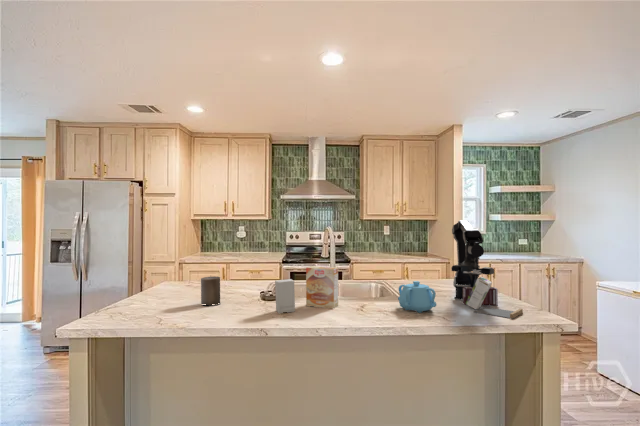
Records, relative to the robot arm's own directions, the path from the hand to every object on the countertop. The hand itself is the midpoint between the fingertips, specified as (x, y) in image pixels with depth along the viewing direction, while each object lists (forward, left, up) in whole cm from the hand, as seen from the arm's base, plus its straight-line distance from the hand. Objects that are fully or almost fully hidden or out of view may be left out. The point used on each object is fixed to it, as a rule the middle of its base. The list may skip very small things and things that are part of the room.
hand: (472, 287), depth 179 cm
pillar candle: (-101, -84, -10) cm, 132 cm away
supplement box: (+5, +16, -6) cm, 18 cm away
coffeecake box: (-56, -47, -10) cm, 74 cm away
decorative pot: (-18, -21, -10) cm, 30 cm away
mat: (+12, 0, -10) cm, 16 cm away
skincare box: (-61, -67, -10) cm, 91 cm away
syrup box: (0, 0, -9) cm, 9 cm away
